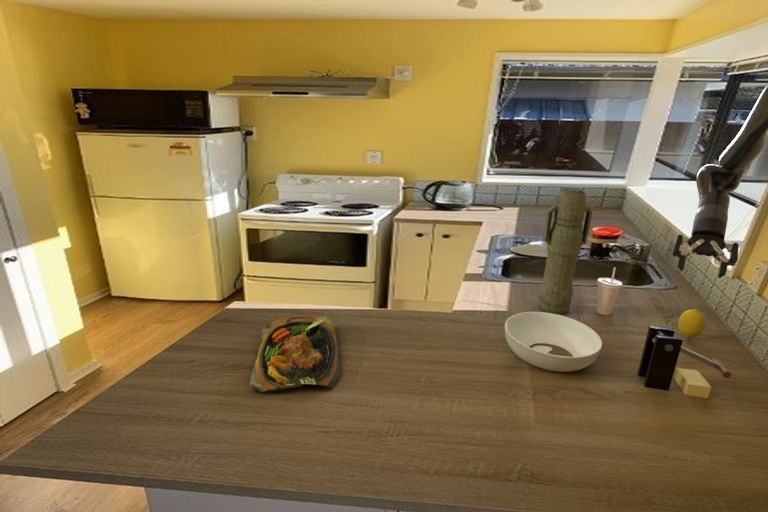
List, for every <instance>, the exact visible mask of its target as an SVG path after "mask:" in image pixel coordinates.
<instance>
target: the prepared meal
mask: <svg viewBox="0 0 768 512" xmlns="http://www.w3.org/2000/svg"><path fill="white" fill-rule="evenodd" d="M260 336H261V337H260V341H259V346H258V349H257V355H256V358H255V362H254V365H253V368H252V372H251V376H250V379H249V384H248V389H256V390H258V391H259V392H260V393H271V392H272V393H274V392H280V391H283V390H286V389H293V388H300V387H302V386H303V385H313V386H321V387H322V386H323V387H327V388H330V389H333V388H334V386H335V384H336V383H337V381H338V380H339V377H340V361H339V349H338V340H337V331H336V325H335V322H333V321H332V320H331V319H330V318H329V317H328V316H295V317H293V316H291V317H280V318H278V319H276V320H274V321H272V322H270V323H269V324H268V325H267V326H266V327H265V328H264V327H262V331H261V335H260Z"/></svg>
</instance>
